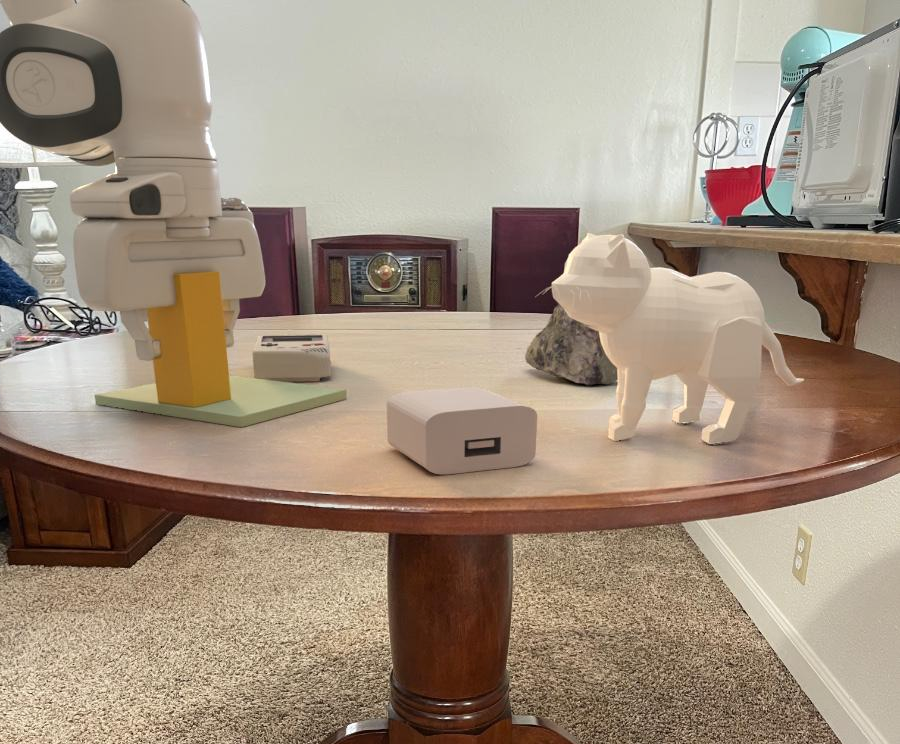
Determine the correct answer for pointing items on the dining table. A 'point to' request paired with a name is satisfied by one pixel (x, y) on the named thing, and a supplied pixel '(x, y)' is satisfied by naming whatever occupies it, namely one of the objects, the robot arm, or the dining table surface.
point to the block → (191, 343)
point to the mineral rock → (571, 351)
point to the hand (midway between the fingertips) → (188, 353)
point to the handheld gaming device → (292, 357)
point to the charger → (461, 429)
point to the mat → (231, 401)
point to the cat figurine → (669, 332)
